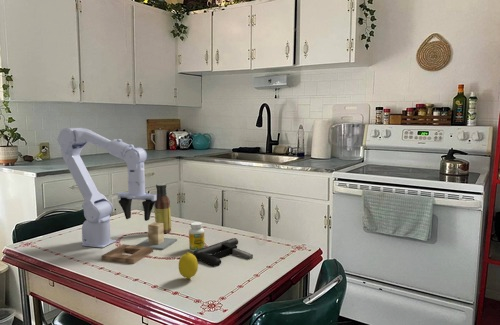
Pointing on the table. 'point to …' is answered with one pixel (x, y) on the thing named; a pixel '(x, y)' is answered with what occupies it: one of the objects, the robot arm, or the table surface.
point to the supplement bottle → (196, 236)
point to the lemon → (188, 265)
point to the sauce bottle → (163, 208)
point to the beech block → (156, 233)
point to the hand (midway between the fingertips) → (137, 219)
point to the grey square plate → (161, 246)
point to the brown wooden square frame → (118, 255)
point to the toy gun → (220, 252)
